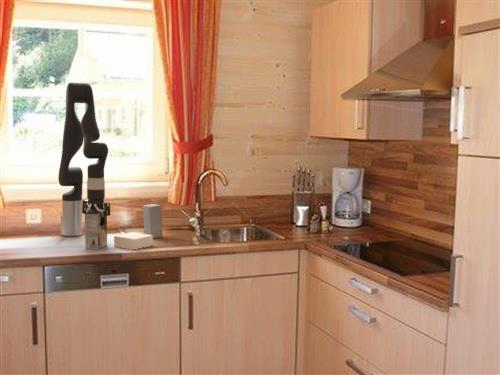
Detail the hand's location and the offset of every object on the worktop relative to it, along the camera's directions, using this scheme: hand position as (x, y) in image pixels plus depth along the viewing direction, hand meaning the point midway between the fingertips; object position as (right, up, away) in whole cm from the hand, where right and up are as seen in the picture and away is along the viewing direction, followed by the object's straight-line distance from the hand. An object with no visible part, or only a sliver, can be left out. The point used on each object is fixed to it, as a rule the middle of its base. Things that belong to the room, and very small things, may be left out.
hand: (96, 224), depth 256 cm
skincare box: (+20, -8, +28) cm, 35 cm away
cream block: (+15, -10, +5) cm, 19 cm away
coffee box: (0, -10, +1) cm, 10 cm away
